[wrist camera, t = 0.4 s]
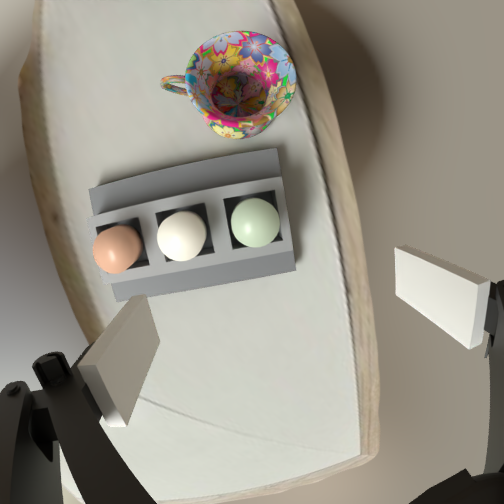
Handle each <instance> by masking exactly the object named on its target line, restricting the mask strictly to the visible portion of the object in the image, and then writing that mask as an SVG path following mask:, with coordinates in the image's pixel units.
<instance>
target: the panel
mask: <svg viewBox="0 0 504 504" xmlns="http://www.w3.org/2000/svg"><path fill="white" fill-rule="evenodd" d="M89 194H90V200H91V205H92V210H93V215H94V216H91V217H88V218H86V219H87V224H88V228H89V232H90V237H91V241H92V245H93V244H94V241H95V239H96V237H97V236H98V235H99V234H100V233H101V232H103V231H105V230H107V229H110V228H112V227H114V226H117V225H120V224H127V225H130V226H132V227H134V228H135V229H136V230H137V231H138V232H139V234H140V235H141V238H142V241H143V250H142V254H141V256H140V257H139V259H138V260H137V261H135V262H134V263H133V264H132V265H131V266H130V267H129V268H127V269H126V270H125V271H124V272H121V273H118V274H112V273H108V272H106V271H104V270H103V269H101V268H100V267H99V265H98V268H99V271H100V275H101V278H102V282H103V285H106V284H111V286H112V289H113V292H114V296H115V299H116V302H121V301H127V300H129V299H130V298H131V297H132V296H136V295H142V294H146V297H152V296H158V295H164V294H170V293H176V292H182V291H188V290H193V289H199V288H205V287H211V286H216V285H222V284H227V283H233V282H238V281H244V280H249V279H254V278H260V277H265V276H270V275H276V274H281V273H286V272H291V271H296V266H295V259H294V252H293V244H292V238H291V231H290V224H289V218H288V211H287V205H286V199H285V193H284V187H283V181H282V175H281V169H280V163H279V158H278V152H277V148H272V149H265V150H259V151H252V152H246V153H240V154H235V155H229V156H223V157H218V158H213V159H208V160H203V161H198V162H193V163H188V164H184V165H179V166H175V167H170V168H166V169H162V170H157V171H153V172H149V173H145V174H141V175H137V176H134V177H130V178H126V179H122V180H119V181H115V182H111V183H108V184H104V185H101V186H98V187H94V188H91V189H89ZM252 197H254V198H260V199H262V200H264V201H266V202H268V203H270V204H271V205H272V206H273V207H274V208H275V209H276V211H277V213H278V215H279V219H280V227H279V231H278V234H277V235H276V237H275V238H274V240H273V241H271V242H270V243H269V244H267V245H265V246H262V247H249V246H246V245H244V244H242V243H241V242H239V241H238V240H237V238H236V237H235V235H234V233H233V231H232V226H231V216H232V212H233V210H234V208H235V206H236V205H237V204H238V203H239V202H240V201H242V200H244V199H246V198H252ZM184 210H187V211H192V212H195V213H197V214H198V215H199V216H200V217H201V218H202V219H203V220H204V222H205V224H206V228H207V236H206V240H205V242H204V244H203V247H202V249H201V251H200V252H199V253H198V254H197V255H196V256H195V257H194V258H192V259H190V260H187V261H175V260H172V259H170V258H168V257H167V256H166V255H165V254H164V253H163V252H162V251H161V249H160V247H159V245H158V241H157V233H158V229H159V227H160V225H161V223H162V222H163V221H164V220H165V219H166V218H168V217H169V216H171V215H173V214H175V213H177V212H179V211H184Z"/></svg>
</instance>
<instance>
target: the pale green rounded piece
mask: <svg viewBox="0 0 504 504" xmlns="http://www.w3.org/2000/svg"><path fill="white" fill-rule="evenodd" d="M231 226H232V231H233V233H234V235H235V237H236V238H237V240H238V241H239V242H241V243H242V244H244V245H246V246H249V247H262V246H265V245H267V244H269V243H270V242H271V241H273V240H274V238H275V237H276V235H277V234H278V231H279V227H280V219H279V215H278V213H277V211H276V209H275V208H274V207H273V206H272V205H271V204H270V203H268V202H266V201H264V200H262V199H260V198H254V197H252V198H246V199H244V200H242V201H240V202H239V203H238V204H237V205H236V206H235V208H234V210H233V212H232V216H231Z"/></svg>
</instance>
